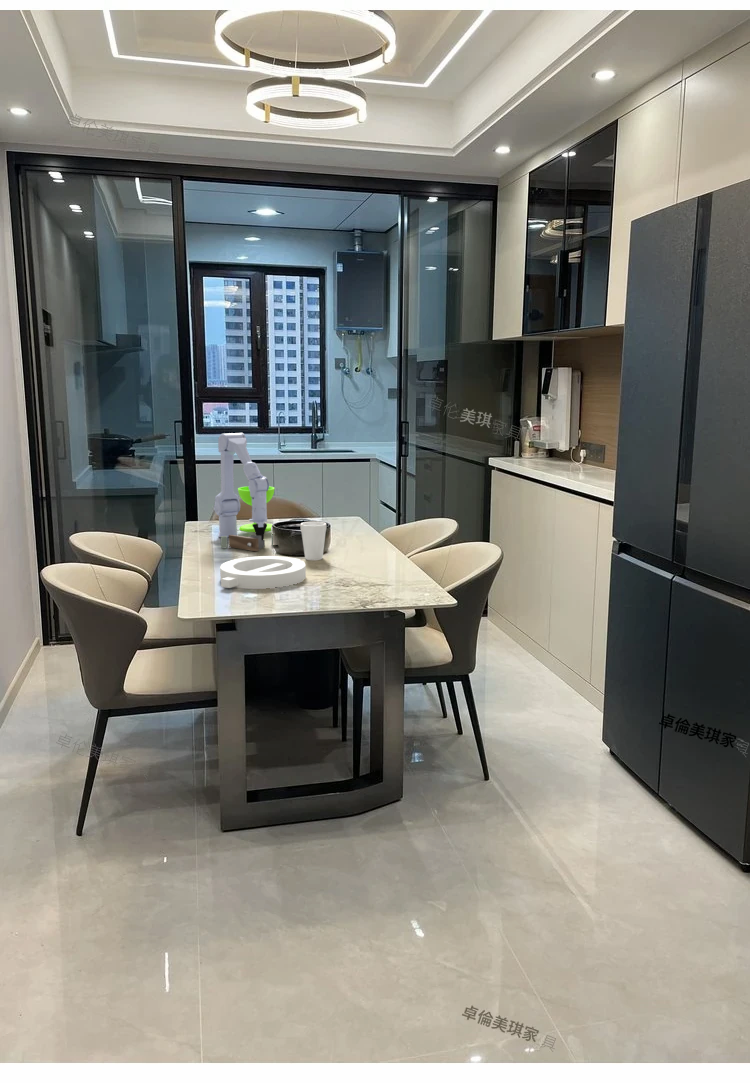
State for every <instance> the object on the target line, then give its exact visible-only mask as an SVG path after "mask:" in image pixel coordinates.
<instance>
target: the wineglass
mask: <svg viewBox="0 0 750 1083" xmlns="http://www.w3.org/2000/svg"><path fill="white" fill-rule="evenodd" d="M275 488H276V487H274V486H270V485H269V489H268V491H266V504H268V503H269V502H270V501H271V500H272V498H273V496H274V494H275ZM237 492H238V496H239V499H241V500H242V501H243V502H244V503H245V504H247V505H248V506H251V507H252V497H251V495H250V491H249V487H248V486H240V487H238V488H237ZM253 524H257V523H254V522H252V523H247V524H242V525H241V526H239V531H241V532H247V533H256V532H255V529H254V527H253ZM272 525H273V524H272V523H267V527H266V530H265V532H271V527H272Z"/></svg>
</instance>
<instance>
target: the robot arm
mask: <svg viewBox="0 0 750 1083" xmlns="http://www.w3.org/2000/svg"><path fill="white" fill-rule="evenodd" d="M217 439H218V441H217V442H218V443H217V444H218V446H217V447H218V448H217V450H218V452H219V453H220V488H221V490H220V492H219V493H218V494H217V495H215V497H214V498H215V499H214V503H213V504H214V505H213V510H214V512H215V514H216V516H218V525H219V526H218V529H219V532H218V538H221V536H227V538H229V535H237V536H239V534H238V530H237V529H238V528H237V527H238V526H237V515H238V514H239V512H240V510H241V502H240V495H239V494H237V493H235V488H234V486H235V482H234V480H235V479H234V476H235V475H234V455H235V454H236V455H237V456H238V459H239V460H240V462H241V464H242V465H243V468H242V472H244V476H246V480H248V487H249V491H250V495H251V497H252V506H251V518H249V519H248V520H249V522H252V524H253V523H257V524H253V527H254V529H255V532H254V533H255V535H259V536H261V540H265V530H266V527H267V524H268V523H267V522H268V516H267V515H268V513H267V512H268V511H267V504H268V503H267V504H266V491H268V489H269V486H270V482H269V480H268V478H267V476H264V475H263V474H262V473H261V471H260V469H259V466H258V465H257V463H256V462H253V461H252V459H251V456H250V454H249V451H248V449H247V444H248V442H247V437H246V435H245V433H243V432H235V433H233V432H231V433H230V432H229V433H225V432H224V433H221V434H220V435H219V437H218V438H217Z"/></svg>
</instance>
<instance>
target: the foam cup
mask: <svg viewBox="0 0 750 1083" xmlns="http://www.w3.org/2000/svg"><path fill="white" fill-rule="evenodd" d="M300 532H301V538H302V546H303V553H304V559H305V560H308V561H320V560H322V559H323V557H324V551H325V550H324V548H325V540H326V532H327V523H326V522H323V521H304V522H301V523H300Z"/></svg>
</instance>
